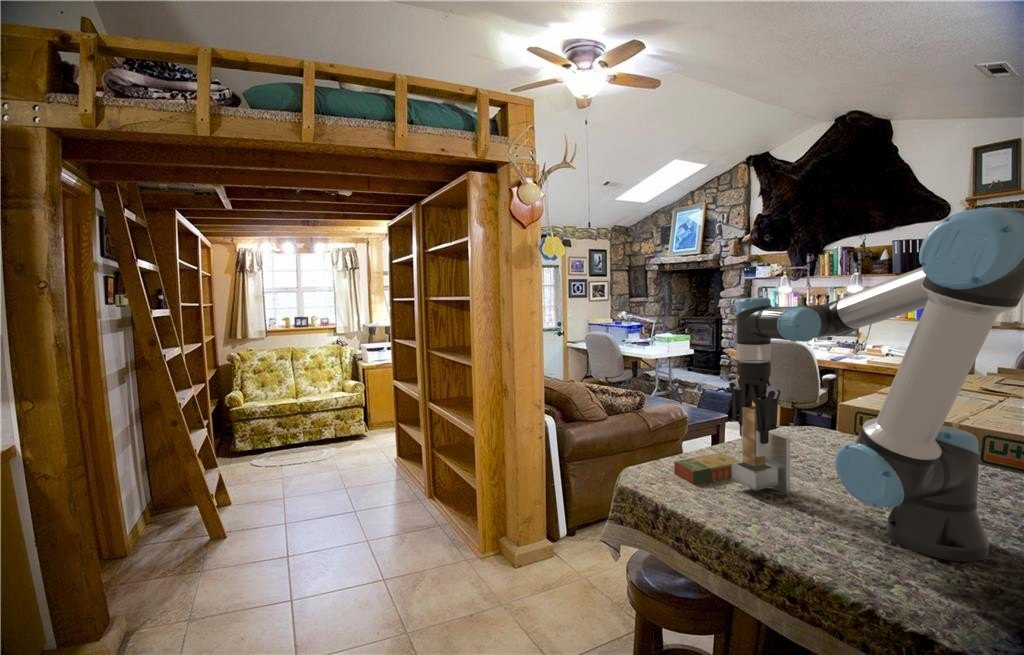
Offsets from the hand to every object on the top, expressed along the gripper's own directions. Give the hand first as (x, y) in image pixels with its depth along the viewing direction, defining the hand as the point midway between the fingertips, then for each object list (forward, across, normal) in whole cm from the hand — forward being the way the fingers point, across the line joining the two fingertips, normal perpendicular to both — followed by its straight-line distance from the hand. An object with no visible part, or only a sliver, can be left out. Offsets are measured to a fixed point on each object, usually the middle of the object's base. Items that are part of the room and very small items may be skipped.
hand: (753, 452), depth 122 cm
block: (+3, 0, 0) cm, 3 cm away
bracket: (+10, 0, -1) cm, 10 cm away
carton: (+10, +13, +2) cm, 17 cm away
